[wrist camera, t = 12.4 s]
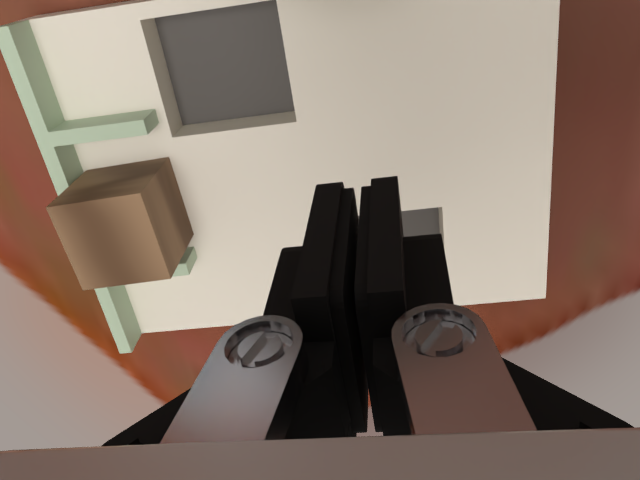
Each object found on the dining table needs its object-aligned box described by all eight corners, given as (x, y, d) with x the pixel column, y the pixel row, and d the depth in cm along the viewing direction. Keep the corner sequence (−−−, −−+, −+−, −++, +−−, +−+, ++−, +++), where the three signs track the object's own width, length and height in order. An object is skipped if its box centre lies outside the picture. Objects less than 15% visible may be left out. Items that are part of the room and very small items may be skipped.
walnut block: (169, 156, 33) (140, 193, 28) (193, 234, 35) (170, 278, 31) (86, 170, 33) (45, 207, 29) (116, 245, 36) (82, 290, 31)
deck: (547, -65, 29) (577, -63, 25) (534, 276, 38) (555, 317, 34) (37, 15, 32) (-8, 28, 28) (142, 312, 41) (119, 353, 37)
